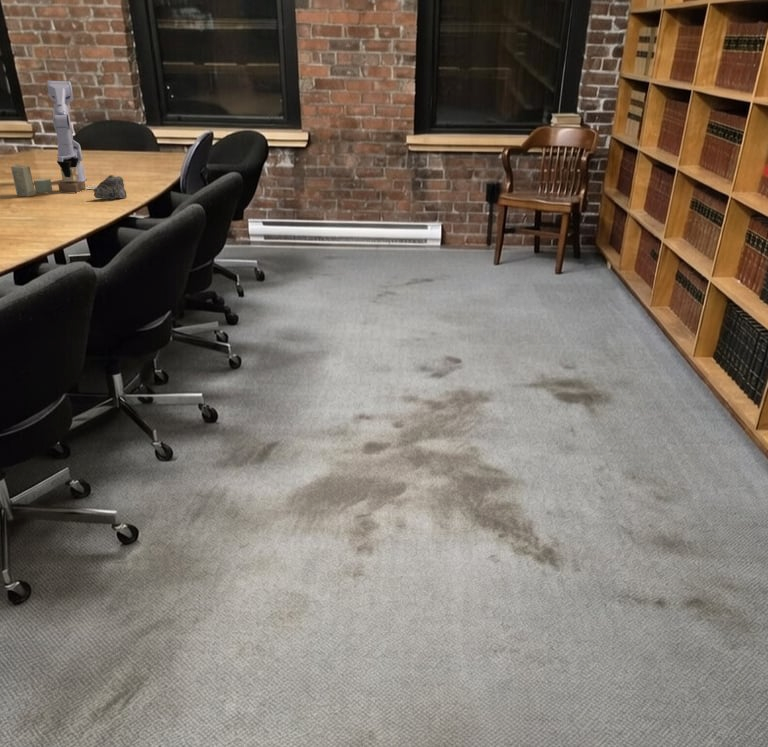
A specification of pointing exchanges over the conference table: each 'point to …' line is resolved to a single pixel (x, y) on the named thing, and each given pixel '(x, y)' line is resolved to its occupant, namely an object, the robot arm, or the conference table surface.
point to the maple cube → (73, 174)
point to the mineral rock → (110, 188)
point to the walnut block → (72, 186)
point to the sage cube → (43, 185)
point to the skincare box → (23, 180)
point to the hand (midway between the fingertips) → (70, 175)
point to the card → (91, 187)
